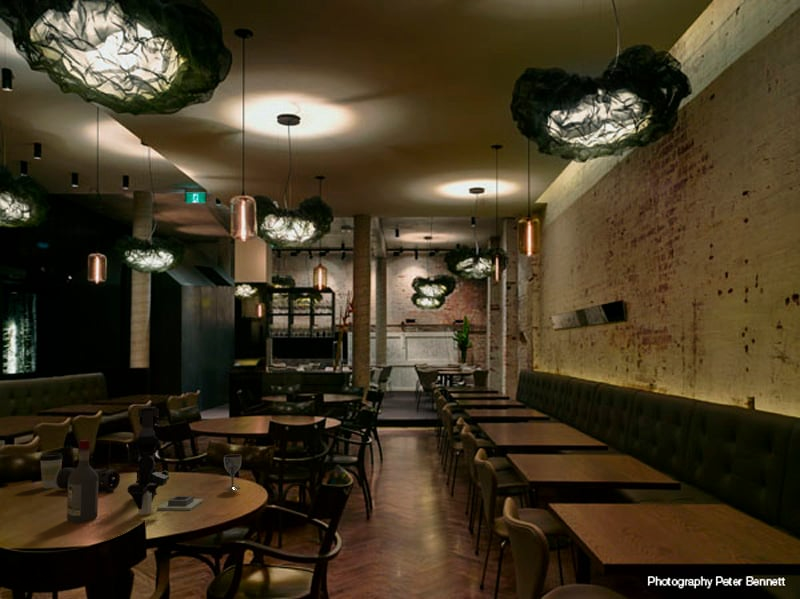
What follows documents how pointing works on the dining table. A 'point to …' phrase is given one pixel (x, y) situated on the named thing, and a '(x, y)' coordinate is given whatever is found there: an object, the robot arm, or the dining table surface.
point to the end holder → (180, 503)
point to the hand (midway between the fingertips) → (145, 506)
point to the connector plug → (146, 504)
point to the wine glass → (232, 467)
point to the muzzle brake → (103, 480)
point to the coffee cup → (50, 468)
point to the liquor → (82, 489)
